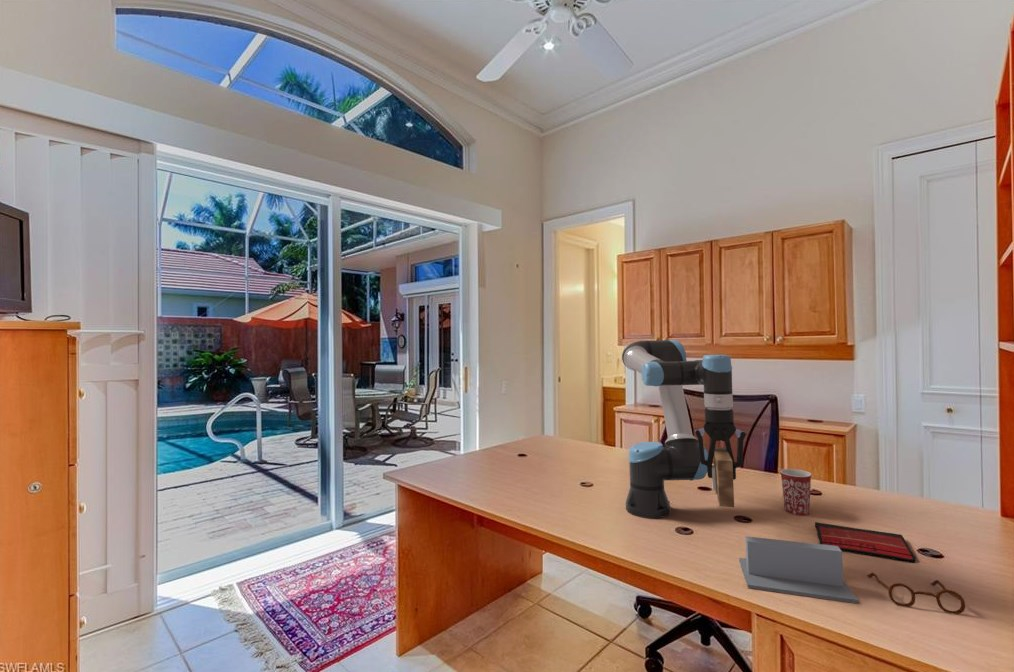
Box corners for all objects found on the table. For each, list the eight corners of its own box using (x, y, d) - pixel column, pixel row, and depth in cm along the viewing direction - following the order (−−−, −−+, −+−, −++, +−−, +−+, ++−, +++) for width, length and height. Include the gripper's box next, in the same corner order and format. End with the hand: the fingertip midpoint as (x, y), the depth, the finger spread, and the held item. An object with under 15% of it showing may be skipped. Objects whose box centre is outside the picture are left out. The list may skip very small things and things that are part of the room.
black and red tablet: (814, 521, 140) (901, 533, 130) (815, 528, 140) (902, 541, 130) (821, 544, 126) (919, 560, 116) (821, 552, 126) (919, 568, 116)
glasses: (890, 606, 99) (889, 584, 99) (866, 577, 112) (865, 557, 112) (966, 618, 95) (965, 594, 95) (933, 586, 107) (932, 565, 107)
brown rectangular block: (719, 506, 117) (717, 460, 117) (714, 487, 132) (712, 446, 132) (734, 507, 116) (732, 461, 116) (727, 488, 131) (725, 447, 131)
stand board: (747, 587, 107) (746, 550, 108) (739, 560, 121) (738, 527, 121) (858, 603, 100) (856, 563, 100) (836, 572, 113) (834, 537, 113)
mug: (809, 519, 146) (807, 478, 147) (778, 512, 153) (776, 472, 153) (818, 508, 155) (816, 469, 155) (788, 502, 162) (787, 465, 162)
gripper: (688, 409, 128) (691, 491, 127) (753, 410, 122) (757, 496, 122) (687, 405, 135) (690, 483, 135) (749, 406, 129) (752, 488, 129)
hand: (722, 489), depth 128 cm, fingers closed on brown rectangular block, 3 cm apart
